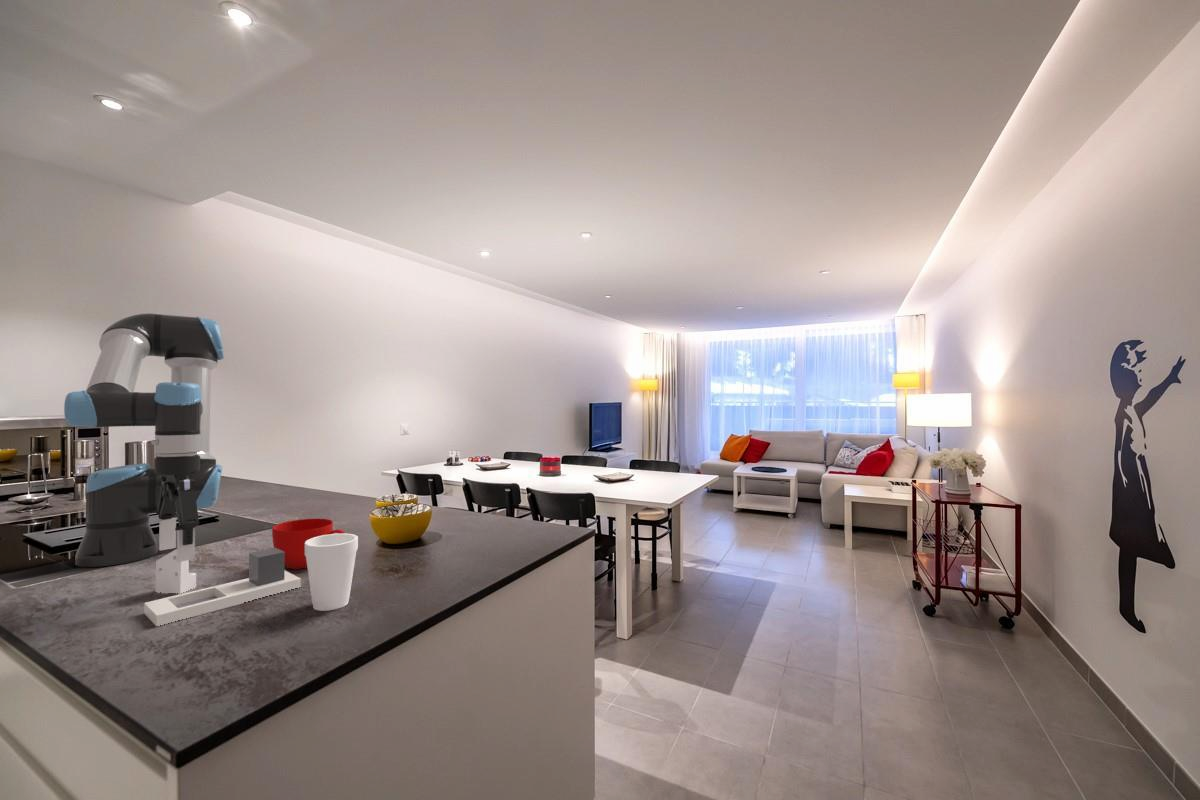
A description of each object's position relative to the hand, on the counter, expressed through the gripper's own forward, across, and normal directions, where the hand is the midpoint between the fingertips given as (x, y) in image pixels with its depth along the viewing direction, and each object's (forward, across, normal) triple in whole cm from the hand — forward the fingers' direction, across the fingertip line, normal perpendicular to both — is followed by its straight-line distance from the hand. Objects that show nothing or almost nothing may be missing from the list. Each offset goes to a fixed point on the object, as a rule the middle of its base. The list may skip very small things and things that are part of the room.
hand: (176, 554), depth 107 cm
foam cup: (+8, +32, +17) cm, 38 cm away
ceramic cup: (+8, +4, +25) cm, 27 cm away
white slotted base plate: (+8, +14, +5) cm, 17 cm away
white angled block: (+8, -1, 0) cm, 8 cm away
